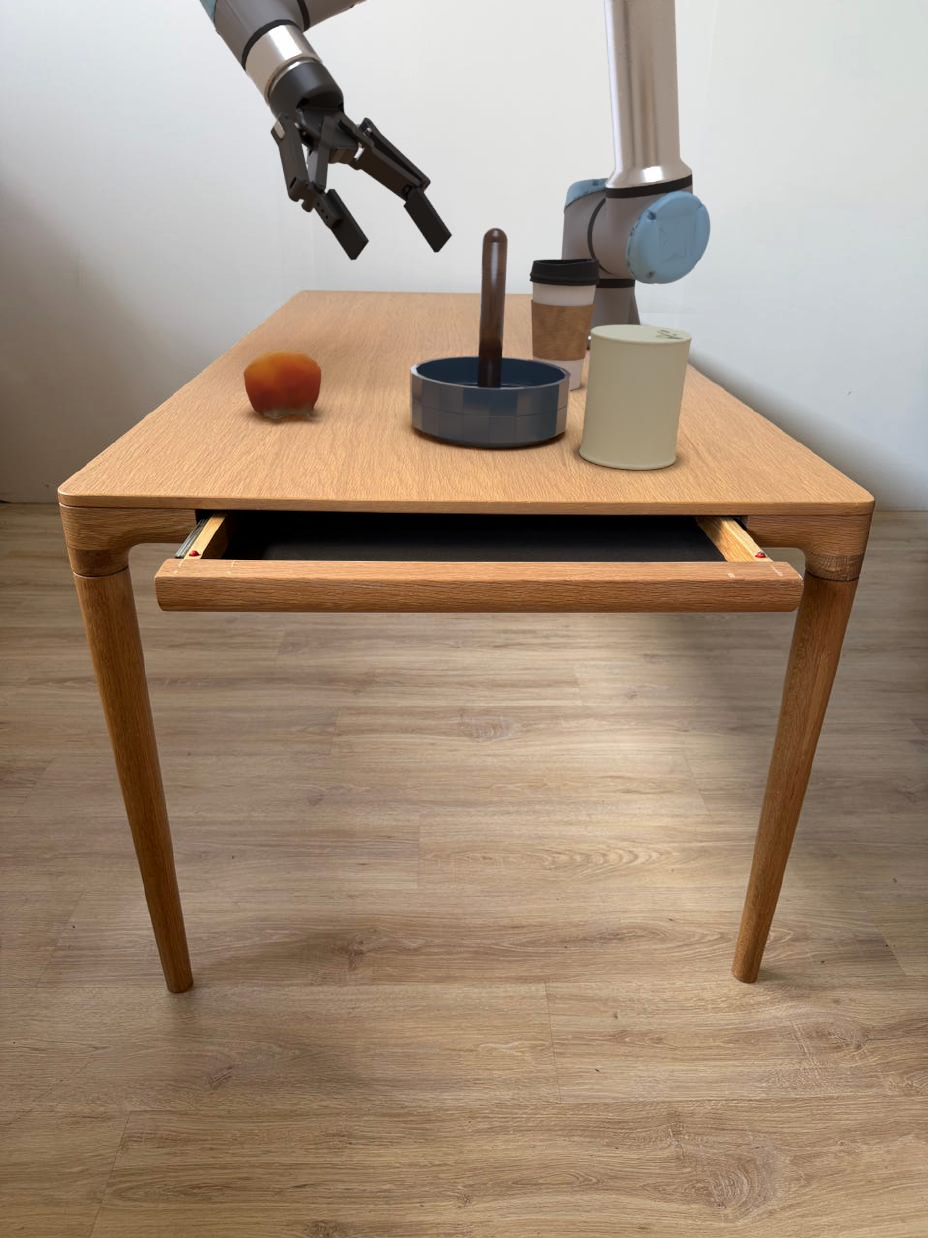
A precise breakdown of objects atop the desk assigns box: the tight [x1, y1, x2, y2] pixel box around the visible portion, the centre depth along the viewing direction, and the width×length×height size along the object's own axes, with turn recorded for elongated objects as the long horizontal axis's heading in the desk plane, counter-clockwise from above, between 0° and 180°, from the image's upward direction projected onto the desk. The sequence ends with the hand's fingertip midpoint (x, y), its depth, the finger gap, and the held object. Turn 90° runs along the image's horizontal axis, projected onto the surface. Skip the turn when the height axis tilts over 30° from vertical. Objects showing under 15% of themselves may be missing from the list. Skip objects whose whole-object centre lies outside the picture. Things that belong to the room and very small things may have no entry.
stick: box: [477, 227, 509, 388], centre depth 91 cm, size 5×5×19 cm
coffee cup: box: [529, 258, 600, 391], centre depth 113 cm, size 8×8×15 cm
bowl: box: [409, 355, 571, 449], centre depth 95 cm, size 16×16×6 cm
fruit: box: [243, 348, 322, 422], centre depth 97 cm, size 8×8×8 cm
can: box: [578, 324, 693, 471], centre depth 86 cm, size 9×9×12 cm
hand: (403, 247), depth 98 cm, fingers open, 13 cm apart
